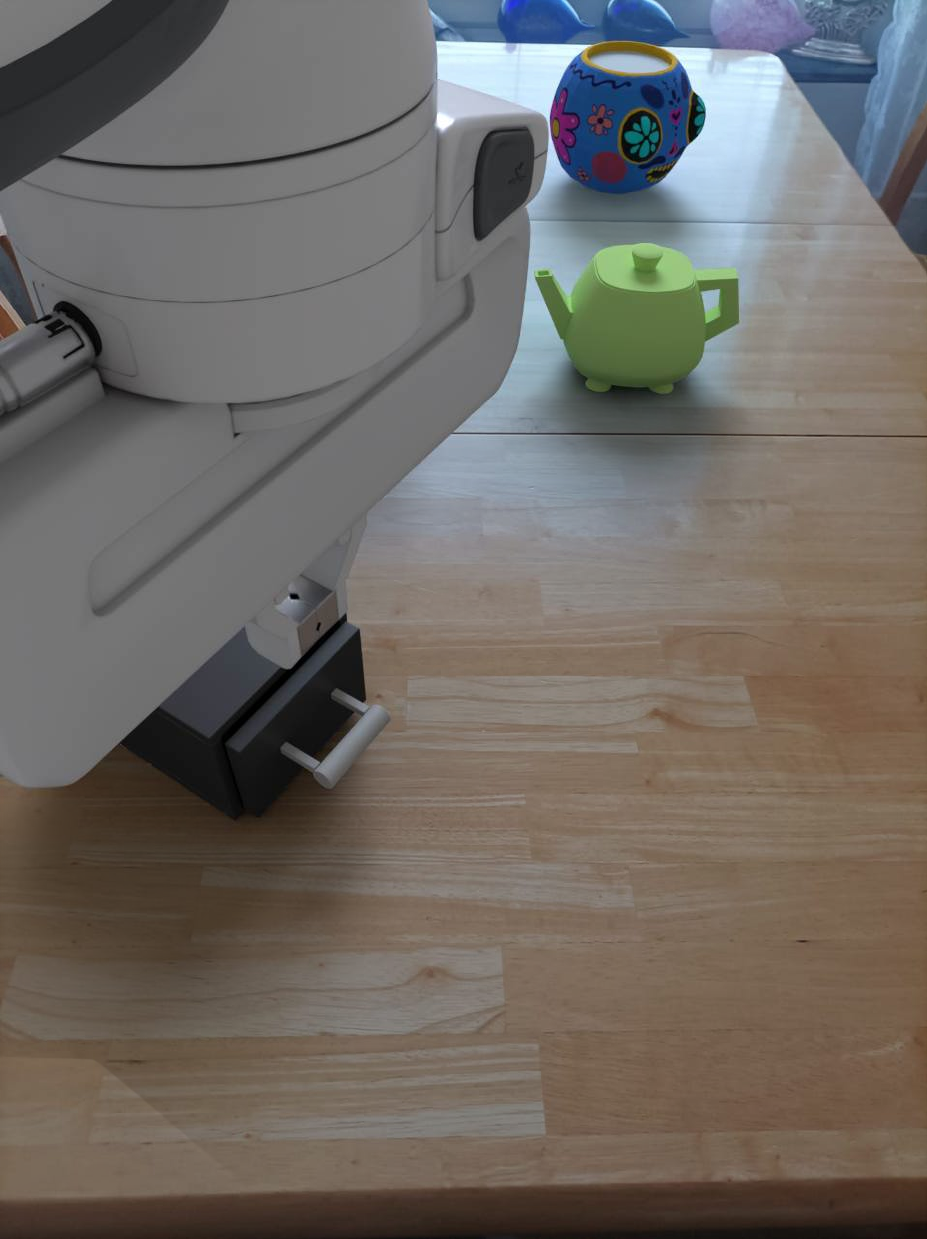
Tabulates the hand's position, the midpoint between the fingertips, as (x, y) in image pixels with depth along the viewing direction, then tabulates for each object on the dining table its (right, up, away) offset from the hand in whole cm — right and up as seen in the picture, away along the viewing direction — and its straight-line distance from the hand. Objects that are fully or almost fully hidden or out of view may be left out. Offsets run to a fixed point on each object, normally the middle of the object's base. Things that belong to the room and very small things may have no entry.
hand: (300, 632), depth 30 cm
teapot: (+22, +26, +64) cm, 73 cm away
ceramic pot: (+25, +57, +91) cm, 111 cm away
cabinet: (-12, -6, +36) cm, 38 cm away
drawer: (-9, -7, +34) cm, 35 cm away
